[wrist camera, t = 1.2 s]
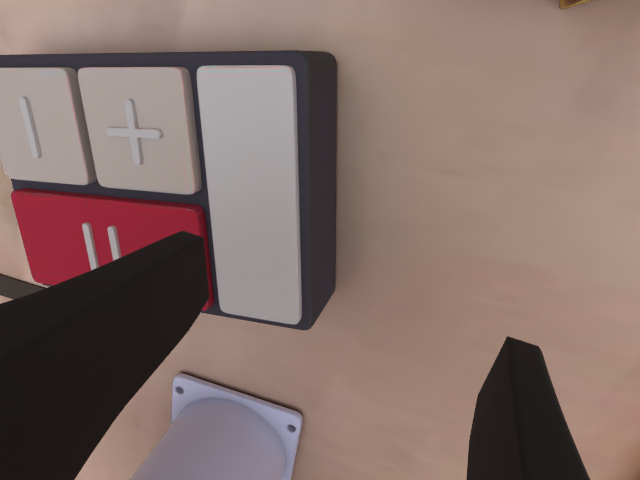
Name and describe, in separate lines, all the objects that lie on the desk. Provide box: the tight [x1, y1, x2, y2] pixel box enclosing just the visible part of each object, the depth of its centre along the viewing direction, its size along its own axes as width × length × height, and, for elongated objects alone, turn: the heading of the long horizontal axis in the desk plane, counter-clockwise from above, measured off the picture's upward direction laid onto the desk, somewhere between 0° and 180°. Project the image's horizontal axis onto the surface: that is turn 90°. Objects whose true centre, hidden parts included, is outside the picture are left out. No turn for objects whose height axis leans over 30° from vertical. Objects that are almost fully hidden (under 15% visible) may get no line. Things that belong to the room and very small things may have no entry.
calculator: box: [0, 51, 337, 330], centre depth 20 cm, size 11×4×15 cm
